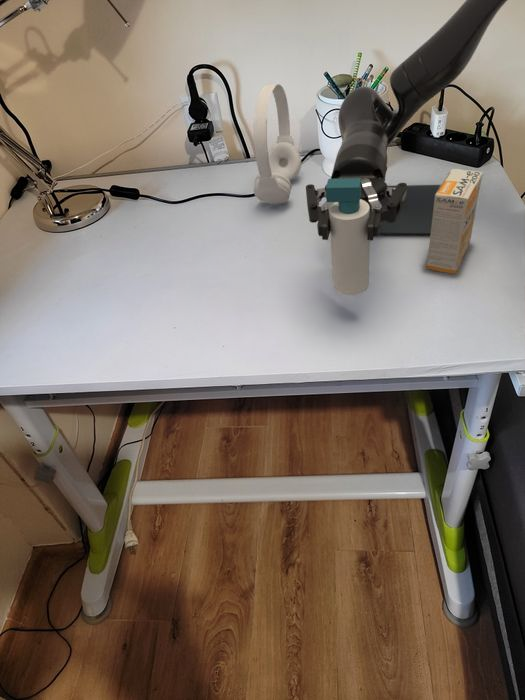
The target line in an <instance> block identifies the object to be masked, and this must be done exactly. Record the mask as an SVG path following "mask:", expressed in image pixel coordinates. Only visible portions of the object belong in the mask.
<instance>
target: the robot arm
mask: <svg viewBox="0 0 525 700" xmlns="http://www.w3.org/2000/svg"><path fill="white" fill-rule="evenodd" d="M507 2H508V0H465V1H464V2H463V3H462V5H460V7H459V8H458V9H457V10H456V11H455V12H454V13H453V15H452V16H450V18H448V20H447V21H446V22H445V23H444V24H443V25H442V26H441V27H440V28H439V29H438V30H437V31H436V32H434V33H433V35H432V36H431V37H429V39H427V40H426V41H425V42H424V43H422V44H421V45H420V46H419V47H418V48H417V49H416V50H415V51H414V52H412V53H411V54H410V55H409V56H408V57H407V58H405V59H404V61H402V62H401V63H400V64H399V65H398V66H397V67H395V69H393V71H391V74H390V76H389V85H390V88H391V91H392V93H393V95H394V97H395V100H396V101H397V106H396V108H395V109H394V110H393V111H392V109H391V108H390V106H389V105H388V104H387V103H386V102H385V101H384V100H383V97H381V95H380V94H379V93H378V92H377V91H376V90H375V89H374V88H372V87H369V86H359V87H357V88H355V89H353V90H351V91H350V92H349V93H348V94H347V95H346V97H345V98H344V100H343V101H342V103H341V105H340V107H339V111H338V117H337V121H338V122H337V123H338V128H339V133H340V137H341V138H340V139H341V140H342V141H341V145H340V147H339V149H338V151H337V154H336V158H335V161H334V164H333V169H332V173H331V176H330V179H342V178H361V197H360V199H361V200H364V201H366V202H367V203H368V204H369V207H370V214H369V220H368V228H367V240H369V241H374V238H375V237H379V236H380V235H379V233H380V225H381V222H383V221H387V222H389V223H393V222H395V221H396V219H397V217H398V215H399V214H400V212H401V210H402V208H403V206H404V204H405V202H406V191H407V185H408V184H407V183H406V182H399V183H397V185H396V186H397V187H396V188H395V187H387V186H388V184H387V182H386V176H387V172H388V153H387V152H388V147H389V146H391V144H392V143H393V142H394V141H395V139H396V138H397V137H398V135H399V134H400V132H402V130H403V129H404V127H405V126H406V125H407V124H408V122H409V121H411V119H412V118H413V117H414V115H415V114H416V113H417V112H418V111H419V110H420V109H421V107H423V106H424V105H425V104H427V103H428V102H429V101H430V100H431V99H433V98H434V97H435V96H437V95H438V94H439V93H441V91H443V90H444V89H445V88H447V87H448V86H449V85H450V84H452V83H453V82H454V81H455V80H456V79H457V78H458V77H459V76H460V75H461V74H462V72H464V70H465V69H466V67H467V66H468V64H469V63H470V62H471V60H472V58H473V56H474V54H475V52H476V51H477V49H478V46H479V45H480V43H481V42H482V39H483V37H484V35H485V33H486V32H487V30H488V28H489V26H490V24H491V23H492V22H493V20H494V18H495V17H496V15H497V14H498V12H499V11H500V10H501V9H502V7H503V6H504V5H505V4H506V3H507ZM326 186H327V184H325V186H324V187H322V188H321V187H320V188H316V186H315V185H314V184H313V183H311V184H310V183H309V184H306V185H305V195H306V204H307V212H308V221H309V222H310V223H313V224H314V223H316V224H317V235H318V236H319V237H321V239H322V241H329V238H330V219H329V208H330V206H331V205H332V204H333V203H335V202H327V200H326V201H325V202H324V203H322V204H321V205H320V202H322V200H323V199H324V198H326ZM386 196H387V197H389V201H388V203H387V206H382V205H381V203H380V201H382V200H383V199H385V198H386Z"/></svg>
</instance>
